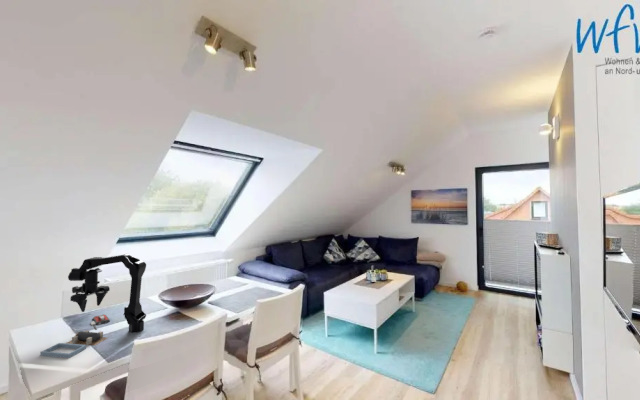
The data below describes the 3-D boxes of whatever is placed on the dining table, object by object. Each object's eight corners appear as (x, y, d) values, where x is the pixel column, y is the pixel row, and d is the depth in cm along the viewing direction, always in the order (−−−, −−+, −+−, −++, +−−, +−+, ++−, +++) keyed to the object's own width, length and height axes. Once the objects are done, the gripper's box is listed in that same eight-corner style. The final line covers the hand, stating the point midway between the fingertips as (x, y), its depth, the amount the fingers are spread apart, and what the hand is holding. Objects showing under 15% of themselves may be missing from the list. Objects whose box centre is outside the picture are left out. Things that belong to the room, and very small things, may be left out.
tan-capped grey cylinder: (99, 339, 148) (100, 331, 149) (93, 342, 144) (93, 334, 145) (80, 337, 149) (81, 330, 150) (73, 341, 145) (73, 333, 146)
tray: (86, 350, 139) (86, 345, 139) (68, 360, 130) (69, 354, 130) (59, 348, 140) (59, 342, 140) (40, 358, 132) (40, 352, 132)
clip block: (108, 340, 150) (108, 332, 150) (95, 347, 142) (95, 339, 142) (80, 337, 152) (81, 330, 152) (66, 345, 144) (66, 337, 144)
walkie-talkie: (87, 322, 172) (93, 333, 158) (87, 314, 172) (94, 325, 158) (105, 318, 178) (112, 328, 164) (105, 311, 178) (113, 320, 164)
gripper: (93, 275, 168) (93, 302, 168) (61, 284, 150) (60, 314, 150) (110, 276, 167) (110, 302, 167) (80, 285, 149) (79, 315, 148)
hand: (90, 308), depth 158 cm, fingers open, 9 cm apart
